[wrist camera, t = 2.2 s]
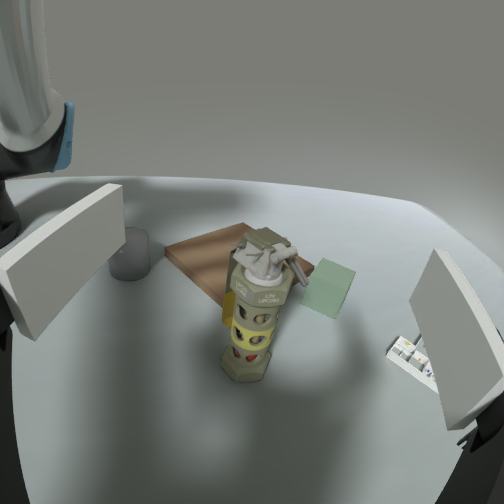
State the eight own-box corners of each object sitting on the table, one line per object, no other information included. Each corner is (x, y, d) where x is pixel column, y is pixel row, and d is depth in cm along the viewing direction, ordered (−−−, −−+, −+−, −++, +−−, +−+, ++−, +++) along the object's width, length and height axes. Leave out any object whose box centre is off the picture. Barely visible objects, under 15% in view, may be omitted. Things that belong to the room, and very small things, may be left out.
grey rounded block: (104, 264, 40) (100, 234, 37) (138, 252, 44) (137, 223, 41) (119, 286, 37) (115, 255, 34) (157, 272, 40) (156, 241, 38)
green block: (300, 304, 39) (310, 274, 37) (313, 286, 43) (322, 257, 40) (334, 319, 37) (347, 290, 35) (344, 299, 41) (355, 271, 39)
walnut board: (164, 255, 44) (164, 247, 43) (241, 229, 54) (242, 222, 54) (235, 318, 35) (236, 309, 34) (312, 273, 46) (314, 265, 45)
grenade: (239, 394, 26) (268, 268, 18) (199, 351, 30) (206, 223, 22) (290, 360, 31) (333, 241, 23) (250, 325, 35) (274, 207, 27)
